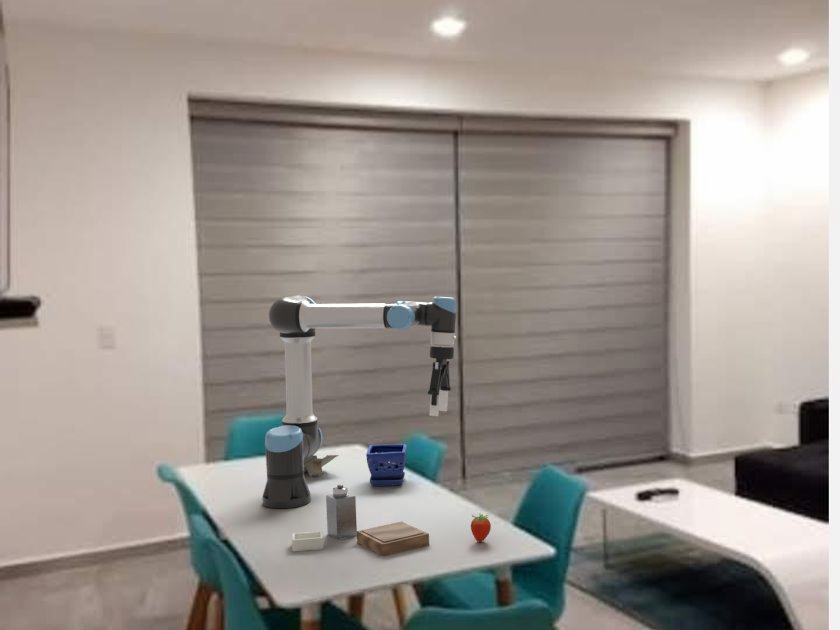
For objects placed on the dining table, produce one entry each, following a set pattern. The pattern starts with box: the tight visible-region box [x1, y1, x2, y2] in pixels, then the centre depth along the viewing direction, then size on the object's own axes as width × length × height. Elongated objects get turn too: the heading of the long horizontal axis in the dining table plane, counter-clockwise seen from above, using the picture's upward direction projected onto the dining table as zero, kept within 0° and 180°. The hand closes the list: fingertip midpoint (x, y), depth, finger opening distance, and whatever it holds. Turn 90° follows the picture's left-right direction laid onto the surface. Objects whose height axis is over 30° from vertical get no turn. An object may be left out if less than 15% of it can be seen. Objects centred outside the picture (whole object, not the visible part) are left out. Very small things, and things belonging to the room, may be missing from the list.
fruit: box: [470, 513, 492, 543], centre depth 233 cm, size 5×5×8 cm
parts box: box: [291, 530, 324, 552], centre depth 234 cm, size 8×6×3 cm
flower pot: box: [365, 443, 408, 487], centre depth 299 cm, size 13×13×12 cm
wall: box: [304, 454, 340, 478], centre depth 313 cm, size 16×9×15 cm
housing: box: [325, 484, 358, 541], centre depth 243 cm, size 6×6×14 cm
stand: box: [356, 521, 430, 557], centre depth 234 cm, size 14×14×3 cm
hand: (438, 413), depth 278 cm, fingers open, 13 cm apart
